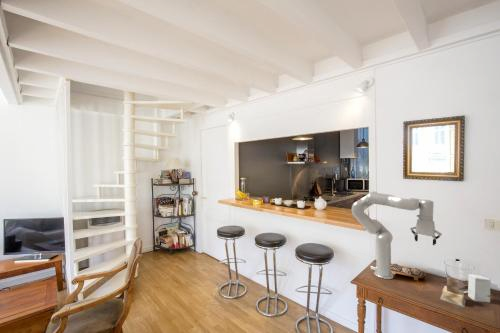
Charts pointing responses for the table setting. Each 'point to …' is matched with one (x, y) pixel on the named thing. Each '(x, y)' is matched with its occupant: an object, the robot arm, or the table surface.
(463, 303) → the blueprint board
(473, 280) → the skincare box
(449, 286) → the walnut block
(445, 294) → the oak block
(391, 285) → the table surface
